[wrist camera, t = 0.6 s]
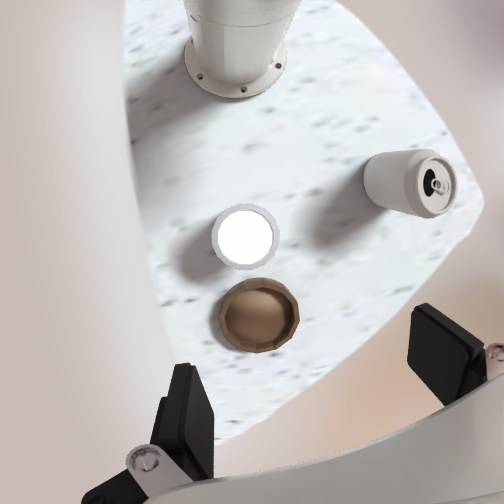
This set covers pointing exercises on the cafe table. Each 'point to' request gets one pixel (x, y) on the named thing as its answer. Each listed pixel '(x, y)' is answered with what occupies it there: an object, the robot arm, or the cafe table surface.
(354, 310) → the cafe table surface
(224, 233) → the white tapered cylinder
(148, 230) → the cafe table surface
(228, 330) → the round bowl
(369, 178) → the can
